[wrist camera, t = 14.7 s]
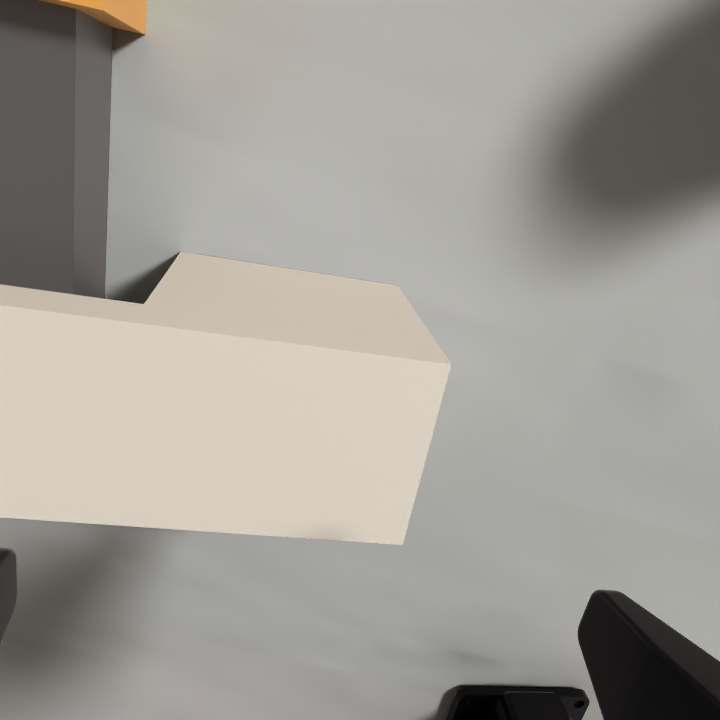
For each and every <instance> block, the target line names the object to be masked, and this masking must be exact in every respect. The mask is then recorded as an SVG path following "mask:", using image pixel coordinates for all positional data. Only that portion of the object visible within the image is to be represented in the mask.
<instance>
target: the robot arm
mask: <svg viewBox="0 0 720 720" xmlns="http://www.w3.org/2000/svg"><path fill="white" fill-rule="evenodd" d="M16 597H17V574H16V555H15V552H14V551H13V550H12V549H10V548H0V642H1V640H2V637H3V635H4V632H5V630H6V628H7V625H8V623H9V620H10V618H11V615H12V613H13V610H14V607H15V603H16ZM578 640H579V644H580V648H581V651H582V654H583V657H584V660H585V663H586V666H587V669H588V672H589V675H590V679H591V682H592V685H593V688H594V691H595V694H596V697H597V700H598V703H599V707H600V710H601V713H602V716H603V719H604V720H720V661H718V660H717V659H715V658H714V657H712V656H711V655H710V654H708V653H707V652H705V651H704V650H703V649H701V648H700V647H698V646H697V645H695V644H694V643H693V642H691V641H690V640H688V639H687V638H685V637H684V636H683V635H681V634H680V633H678V632H677V631H676V630H674V629H673V628H671V627H670V626H668V625H667V624H666V623H664V622H663V621H661V620H660V619H658V618H657V617H656V616H654V615H653V614H651V613H650V612H649V611H647V610H646V609H644V608H643V607H641V606H640V605H639V604H637V603H636V602H634V601H633V600H631V599H630V598H629V597H627V596H626V595H624V594H623V593H621V592H618V591H611V590H597V591H595V592H594V593H593V594H592V595H591V597H590V599H589V602H588V604H587V607H586V609H585V612H584V614H583V617H582V619H581V621H580V624H579V627H578ZM588 705H589V699H588V697H587V695H586V693H585V691H583V690H581V689H556V688H507V687H464V688H462V689H460V690H459V691H458V692H457V693H456V696H455V699H454V701H453V704H452V707H451V710H450V713H449V715H448V718H447V720H582V718H583V716H584V714H585V712H586V709H587V707H588Z"/></svg>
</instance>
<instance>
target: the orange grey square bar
mask: <svg viewBox="0 0 720 720" xmlns="http://www.w3.org/2000/svg"><path fill="white" fill-rule="evenodd" d="M146 10H147V0H0V284H1V285H9V286H16V287H23V288H30V289H38V290H45V291H52V292H59V293H67V294H74V295H81V296H88V297H96V298H103V299H105V274H106V241H107V208H108V175H109V142H110V109H111V77H112V44H113V28H117V29H122V30H126V31H131V32H135V33H140V34H144V35H145V30H146Z"/></svg>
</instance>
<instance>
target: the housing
mask: <svg viewBox="0 0 720 720" xmlns="http://www.w3.org/2000/svg"><path fill="white" fill-rule="evenodd" d="M450 368H451V363H450V362H449V360H448V359H447V357H446V356H445V354H444V353H443V352H442V350H441V349H440V347H439V346H438V344H437V343H436V341H435V340H434V338H433V337H432V335H431V334H430V333H429V331H428V330H427V328H426V327H425V325H424V324H423V322H422V321H421V319H420V318H419V316H418V315H417V314H416V312H415V311H414V309H413V308H412V306H411V305H410V303H409V302H408V300H407V299H406V297H405V296H404V294H403V293H402V292H401V290H400V289H399V287H398V286H396V285H390V284H384V283H377V282H371V281H364V280H358V279H352V278H345V277H339V276H332V275H326V274H320V273H313V272H307V271H300V270H294V269H288V268H281V267H275V266H268V265H262V264H256V263H249V262H243V261H236V260H230V259H224V258H217V257H211V256H204V255H198V254H192V253H185V252H180V254H179V255H178V256H177V258H176V259H175V261H174V262H173V263H172V265H171V266H170V268H169V269H168V271H167V272H166V273H165V275H164V276H163V278H162V279H161V281H160V282H159V283H158V285H157V286H156V288H155V289H154V290H153V292H152V293H151V295H150V296H149V298H148V299H147V300H146V302H145V303H144V304H139V303H132V302H125V301H117V300H110V299H103V298H96V297H88V296H81V295H74V294H67V293H59V292H52V291H45V290H38V289H30V288H23V287H16V286H9V285H1V284H0V517H1V518H16V519H31V520H45V521H60V522H75V523H89V524H104V525H119V526H133V527H148V528H163V529H177V530H192V531H207V532H221V533H236V534H250V535H265V536H280V537H294V538H309V539H324V540H338V541H353V542H368V543H382V544H397V545H403V542H404V538H405V534H406V531H407V527H408V523H409V520H410V516H411V512H412V508H413V505H414V501H415V497H416V494H417V490H418V486H419V483H420V479H421V475H422V471H423V468H424V464H425V460H426V457H427V453H428V449H429V446H430V442H431V438H432V434H433V431H434V427H435V423H436V420H437V416H438V412H439V409H440V405H441V401H442V397H443V394H444V390H445V386H446V383H447V379H448V375H449V371H450Z"/></svg>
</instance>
